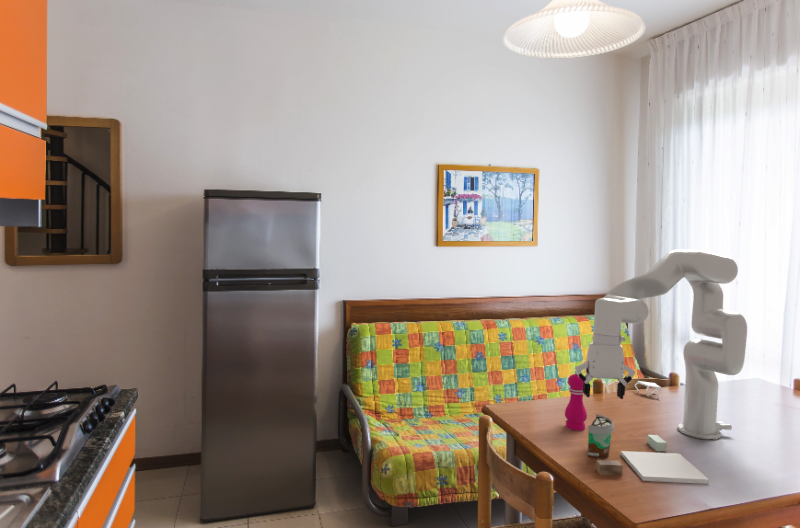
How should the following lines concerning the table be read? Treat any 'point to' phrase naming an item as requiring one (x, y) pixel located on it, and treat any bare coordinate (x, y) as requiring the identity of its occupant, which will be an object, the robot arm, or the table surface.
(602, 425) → the food container
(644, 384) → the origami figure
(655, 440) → the sage block
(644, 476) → the platter
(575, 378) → the pepper mill
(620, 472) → the walnut block
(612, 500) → the table surface
